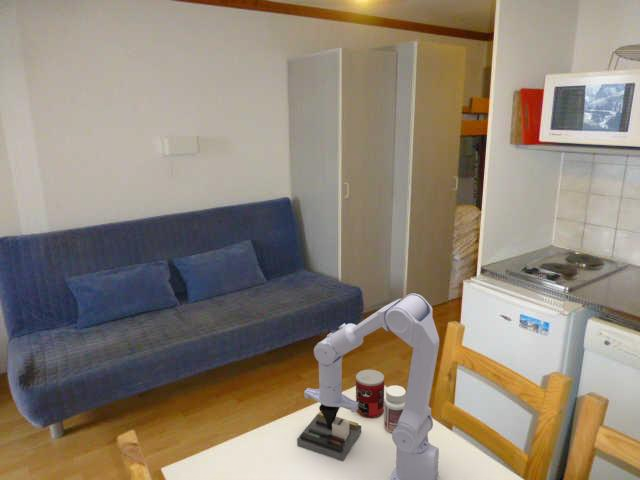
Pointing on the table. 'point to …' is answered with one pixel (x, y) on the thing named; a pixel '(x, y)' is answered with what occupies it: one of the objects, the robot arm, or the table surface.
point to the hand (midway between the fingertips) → (331, 427)
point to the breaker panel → (328, 438)
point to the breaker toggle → (340, 428)
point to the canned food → (370, 393)
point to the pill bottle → (393, 406)
